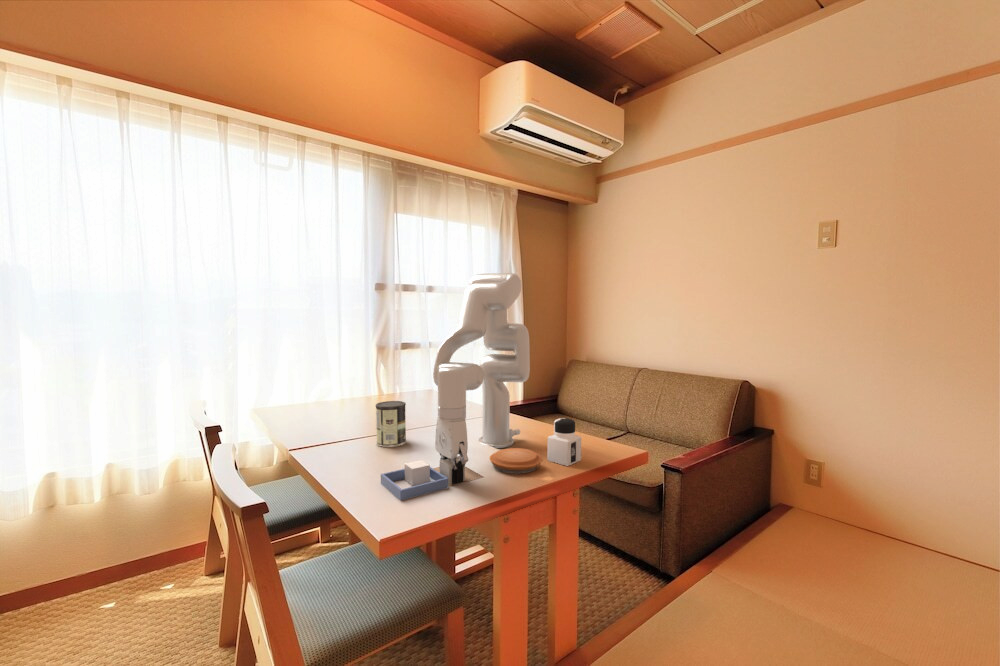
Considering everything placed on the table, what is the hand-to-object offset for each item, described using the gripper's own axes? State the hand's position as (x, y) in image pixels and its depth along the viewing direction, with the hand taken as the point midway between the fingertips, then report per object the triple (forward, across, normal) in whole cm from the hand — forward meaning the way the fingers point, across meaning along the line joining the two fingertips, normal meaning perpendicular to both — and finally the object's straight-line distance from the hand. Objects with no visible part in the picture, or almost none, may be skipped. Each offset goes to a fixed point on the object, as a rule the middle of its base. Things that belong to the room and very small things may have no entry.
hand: (452, 478), depth 115 cm
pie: (+2, +2, +20) cm, 21 cm away
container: (+2, +4, +38) cm, 38 cm away
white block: (+1, -5, -8) cm, 9 cm away
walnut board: (+1, -4, +2) cm, 5 cm away
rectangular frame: (+1, -2, -10) cm, 10 cm away
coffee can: (+2, -44, 0) cm, 45 cm away
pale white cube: (0, 0, 0) cm, 0 cm away
